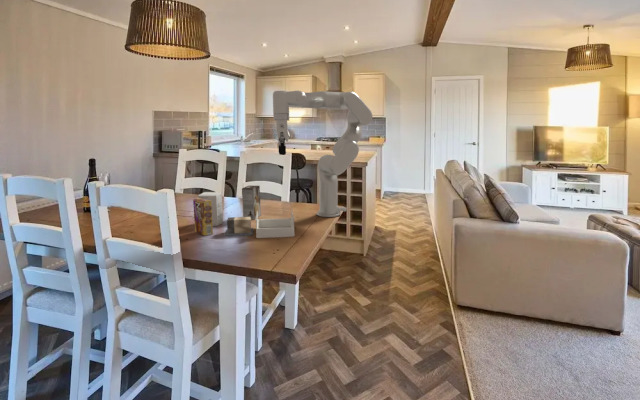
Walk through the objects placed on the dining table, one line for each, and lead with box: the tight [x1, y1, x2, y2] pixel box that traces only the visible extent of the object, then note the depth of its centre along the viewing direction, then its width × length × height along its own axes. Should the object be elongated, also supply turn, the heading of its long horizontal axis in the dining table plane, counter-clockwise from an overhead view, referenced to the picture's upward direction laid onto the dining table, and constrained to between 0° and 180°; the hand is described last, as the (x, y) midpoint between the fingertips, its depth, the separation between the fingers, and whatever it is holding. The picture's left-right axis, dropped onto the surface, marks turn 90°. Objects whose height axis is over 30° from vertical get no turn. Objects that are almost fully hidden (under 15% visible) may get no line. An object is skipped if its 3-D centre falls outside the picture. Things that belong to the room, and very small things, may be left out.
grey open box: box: [255, 209, 295, 239], centre depth 172 cm, size 16×16×8 cm
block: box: [226, 216, 252, 233], centre depth 172 cm, size 10×5×6 cm, turn 98°
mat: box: [224, 227, 254, 237], centre depth 172 cm, size 12×10×1 cm
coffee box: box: [241, 185, 262, 221], centre depth 197 cm, size 9×6×16 cm
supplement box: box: [197, 191, 224, 227], centre depth 185 cm, size 9×9×15 cm
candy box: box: [192, 197, 214, 237], centre depth 170 cm, size 9×4×15 cm, turn 47°
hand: (282, 153), depth 186 cm, fingers open, 9 cm apart
